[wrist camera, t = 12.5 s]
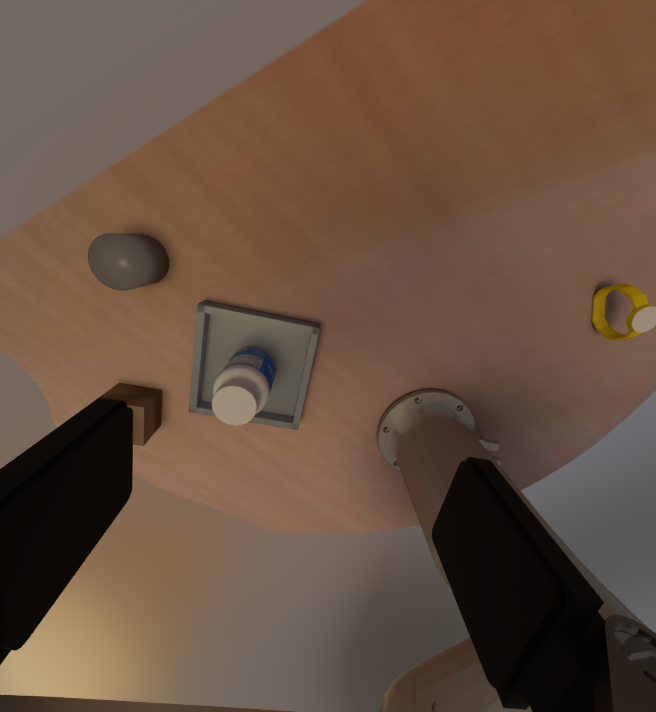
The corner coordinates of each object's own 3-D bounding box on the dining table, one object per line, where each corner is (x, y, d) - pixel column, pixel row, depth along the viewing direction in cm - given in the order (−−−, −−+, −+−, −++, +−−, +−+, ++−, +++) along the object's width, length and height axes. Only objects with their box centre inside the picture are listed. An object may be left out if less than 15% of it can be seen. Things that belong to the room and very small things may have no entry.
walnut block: (162, 389, 39) (144, 407, 35) (161, 424, 40) (143, 445, 36) (119, 382, 38) (95, 400, 34) (120, 418, 40) (97, 439, 36)
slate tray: (319, 323, 37) (319, 328, 35) (298, 420, 41) (297, 430, 39) (204, 300, 35) (197, 304, 33) (195, 403, 39) (188, 412, 37)
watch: (605, 327, 39) (653, 345, 33) (582, 332, 39) (626, 351, 33) (613, 278, 36) (666, 289, 31) (588, 283, 36) (637, 295, 31)
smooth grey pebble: (169, 240, 33) (145, 240, 28) (168, 287, 35) (145, 295, 30) (119, 229, 33) (86, 227, 28) (120, 278, 34) (89, 284, 29)
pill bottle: (273, 390, 39) (260, 437, 29) (228, 384, 38) (201, 429, 29) (279, 348, 37) (268, 384, 28) (232, 340, 36) (204, 375, 27)
